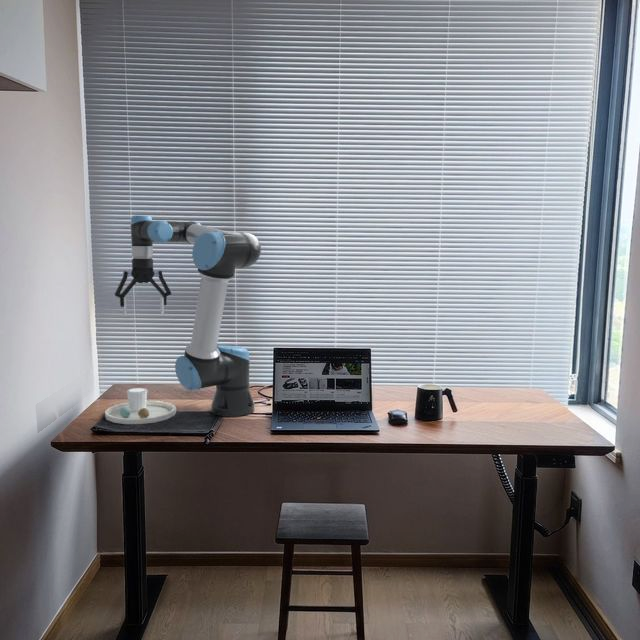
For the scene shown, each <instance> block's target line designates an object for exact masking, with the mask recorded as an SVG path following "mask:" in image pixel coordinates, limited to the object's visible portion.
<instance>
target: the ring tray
mask: <svg viewBox="0 0 640 640" xmlns="http://www.w3.org/2000/svg"><path fill="white" fill-rule="evenodd" d="M123 407H128V408H129V403H128V401H127V402H126V401H125V402H123V403H122V402H121V403H118V404H114V405H112V406H109V407H108V408H107V409H106V410H105V411H104V418H105V420H106V421H108V422H112V423H114V424H123V425H144V424H145V425H146V424H152V423H158V422H163V421H166V420H168V419H170V418H173V417H175V414H176V413H177V407H176V406H175V405H174V404H173V403H170V402H167V401H162V400H160V401H158V400H147V401H146V409H148V411H149V416H148V417H147V418H140V417H139V415H138V412H139V411H138V412H133V411H131V414H130V415H129V416H128V417H122V416H121V415H120V410H121V409H122V408H123Z"/></svg>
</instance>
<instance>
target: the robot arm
mask: <svg viewBox="0 0 640 640" xmlns="http://www.w3.org/2000/svg"><path fill="white" fill-rule="evenodd" d="M130 236H131V237H130V239H131V241H130V242H131V257H132V259H131V264H132V265H131V271H126V270H124V271H123V272H122V278H121V280H120V282H119V284H118V287H117V288H116V290H115V292H114V296H115V297H117V298H119V305H120V307H121V308H122V309H123V311H122V312H123V316H124V317H127V314H128V313H127V298H126V296H127V295H128V293H129V292H130V291H131V290H132V288H133V287H134V286H135V285H136V284H137V283H138V284H143V283H144V284H148V283H150V284H151V285H152V286H153V287H154V288H155V289H156V290H157V291H158V292H159V293H160V294H161V296H160V297H159V298H160V299H159V300H160V307H159V308H160V315H165V307H164V306H167V303H168V302H167V298H168V296H170V295H172V292H171V290H170V287H169V285H168V284H167V282H166V280H165V278H164V277H163V272H162V270H155V271H154V259H153V256H154V252H153V251H154V249H153V248H154V247H153V245H154V244H153V243H157V244H158V243H186V244H190V245H193V247H192V251H191V252H192V254H191V255H192V258H193V260H192V261H193V264H194V265H195V267H196V268H197V273H198V274H199V275H200V276H201V277H200V278H201V279H200V283H199V284H200V285H199V289H198V297H197V303H196V309H195V315H194V321H193V322H194V323H193V328H192V334H191V340H190V343H189V344H188V345H186V346H185V349H184V355H180V356H178V357H177V359H176V360H175V365H174V369H175V375H176V378H177V380H178V382H179V383H180V385H181V386H182V387H183V388H184V389H185V390H187V391H193V390H197V391H198V390H201V389H207V388H209V387H210V388H211V387H214V386H215V387H216V388H215V392H214V396H213V399H212V402H211V407H210V408H211V413H212V414H214V413H216V414H220V415H221V416H222V417H242V416H246V415H250V414H252V413H254V411H255V403H254V400H253V396H252V393H251V391H250V362H251V360H250V353H249V350H248V349H247V348H245V347H242V346H235V345H226V344H225V345H222V344H221V345H218V343H219V342H218V341H219V337H220V331H221V325H222V319H223V313H224V309H225V303H226V295H227V291H228V286H229V281H230V280H231V281H232V280H233V278H234V277H235V273H236V269H242V268H243V269H245V268H249V267H250V266H251V267H252V266H253V265H254V264H255V263H256V262H258V260H259V258H260V256H261V252H262V246H261V243H260V240H259V239H258V238H257V237H256V236H255V235H254V234H252V233H250V232H245V231H225V230H222V229H219V228H215V227H211V226H206V225H203V224H201V223H200V222H198V221H172V220H171V221H170V220H153V218H152V216H151V215H132V216H131V218H130ZM130 276H131V277H132V278H133V279H132V280H131V281H130V282H129V284H128V285H127V286H126V287H125V288H124V286H125V285H126V282H127V279H128V278H129V277H130ZM154 276H156V277H157V278H158V279H159V281H160V283H161V285H162V287H163V289H164V290H165V291H164V290H163V289H162V288H161V287H160V285H159V284H158V283H157V282H156V281H155V280H154V279H153V278H154ZM123 288H124V290H123ZM122 290H123V291H122ZM216 414H215V415H216ZM220 415H219V416H220Z"/></svg>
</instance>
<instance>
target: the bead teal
mask: <svg viewBox="0 0 640 640" xmlns="http://www.w3.org/2000/svg"><path fill="white" fill-rule="evenodd" d="M130 414H131V410H130V409H129V408H128V407H123V408H122V409H121V410H120V415H121V416H122V417H128V416H129V415H130Z"/></svg>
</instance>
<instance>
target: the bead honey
mask: <svg viewBox="0 0 640 640" xmlns="http://www.w3.org/2000/svg"><path fill="white" fill-rule="evenodd" d="M138 415H139V417H140V418H147V417H148V416H149V411H148V409H146V408H142V409H140V410H139V412H138Z"/></svg>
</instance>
